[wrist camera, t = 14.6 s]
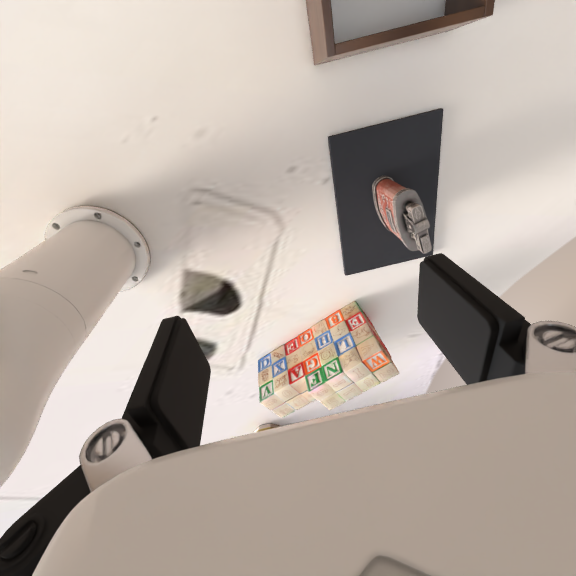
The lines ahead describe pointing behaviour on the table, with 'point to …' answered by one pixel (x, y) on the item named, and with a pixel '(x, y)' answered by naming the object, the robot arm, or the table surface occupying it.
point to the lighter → (402, 213)
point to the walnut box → (458, 12)
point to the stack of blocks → (325, 364)
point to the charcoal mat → (375, 163)
